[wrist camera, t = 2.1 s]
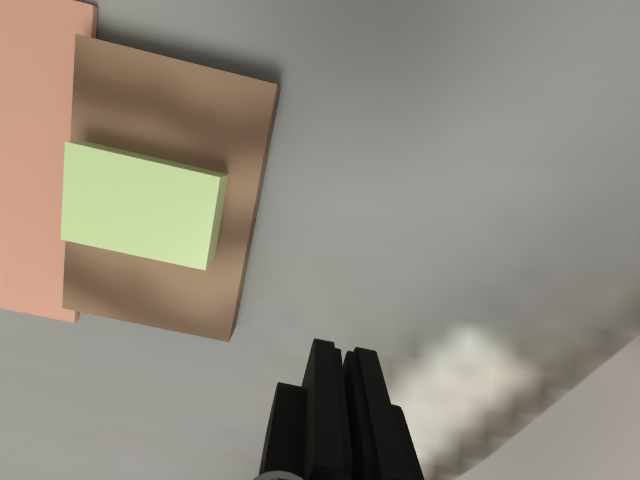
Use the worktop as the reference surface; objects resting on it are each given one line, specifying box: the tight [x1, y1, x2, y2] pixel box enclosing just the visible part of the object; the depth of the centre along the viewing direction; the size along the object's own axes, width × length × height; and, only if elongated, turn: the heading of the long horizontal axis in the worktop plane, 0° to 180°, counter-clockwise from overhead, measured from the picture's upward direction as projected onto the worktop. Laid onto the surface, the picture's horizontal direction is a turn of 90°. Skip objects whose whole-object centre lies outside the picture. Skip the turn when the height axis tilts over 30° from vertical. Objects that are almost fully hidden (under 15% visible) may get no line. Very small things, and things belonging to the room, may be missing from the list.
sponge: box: [61, 141, 228, 271], centre depth 23 cm, size 6×9×2 cm, turn 77°
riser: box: [62, 34, 280, 342], centre depth 25 cm, size 18×12×2 cm, turn 167°
